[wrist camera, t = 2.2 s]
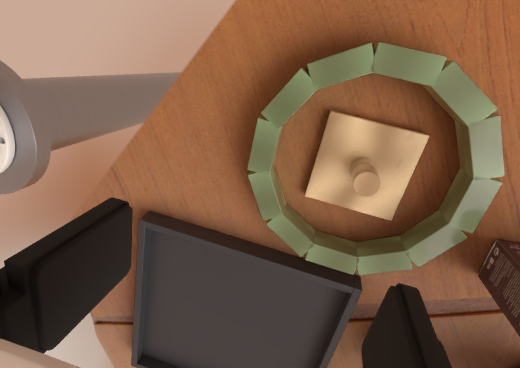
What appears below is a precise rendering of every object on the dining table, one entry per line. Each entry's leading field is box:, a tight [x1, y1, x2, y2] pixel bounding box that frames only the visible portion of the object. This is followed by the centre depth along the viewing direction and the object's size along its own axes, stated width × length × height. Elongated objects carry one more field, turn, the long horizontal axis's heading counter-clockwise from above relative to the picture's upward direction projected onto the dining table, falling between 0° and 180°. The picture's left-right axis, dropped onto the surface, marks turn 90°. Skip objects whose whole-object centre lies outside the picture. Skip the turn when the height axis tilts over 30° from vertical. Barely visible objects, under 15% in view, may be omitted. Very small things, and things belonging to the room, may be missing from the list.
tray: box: [131, 211, 362, 368], centre depth 36 cm, size 24×24×2 cm
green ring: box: [247, 42, 504, 275], centre depth 25 cm, size 19×19×3 cm
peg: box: [305, 110, 429, 221], centre depth 24 cm, size 8×8×5 cm
